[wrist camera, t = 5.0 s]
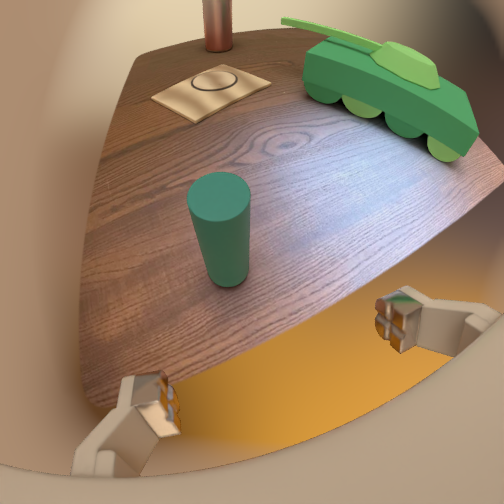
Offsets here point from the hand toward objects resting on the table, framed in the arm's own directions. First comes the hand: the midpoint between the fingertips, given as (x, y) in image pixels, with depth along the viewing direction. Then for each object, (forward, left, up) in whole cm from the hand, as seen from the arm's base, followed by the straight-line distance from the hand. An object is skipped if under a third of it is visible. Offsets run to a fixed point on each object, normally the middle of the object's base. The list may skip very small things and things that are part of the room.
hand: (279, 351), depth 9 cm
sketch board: (+24, +33, -13) cm, 43 cm away
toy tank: (+43, +14, -14) cm, 48 cm away
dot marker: (+4, +8, -13) cm, 16 cm away
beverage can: (+39, +48, -14) cm, 64 cm away
